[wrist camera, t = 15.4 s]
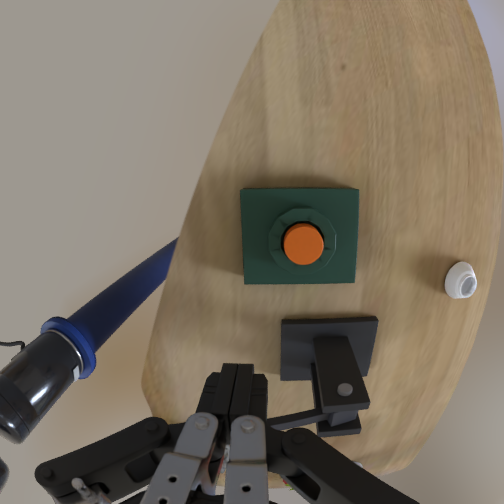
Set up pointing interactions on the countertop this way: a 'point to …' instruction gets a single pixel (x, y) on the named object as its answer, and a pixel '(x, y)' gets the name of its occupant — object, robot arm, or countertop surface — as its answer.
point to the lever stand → (330, 364)
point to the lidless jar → (460, 281)
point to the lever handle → (310, 418)
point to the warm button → (303, 244)
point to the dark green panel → (289, 214)
